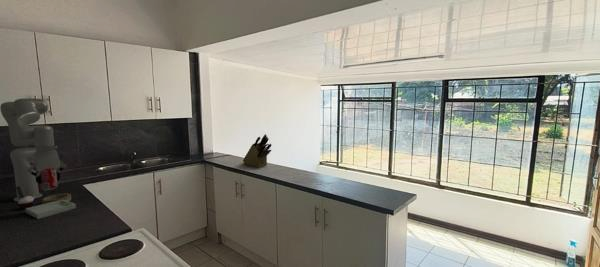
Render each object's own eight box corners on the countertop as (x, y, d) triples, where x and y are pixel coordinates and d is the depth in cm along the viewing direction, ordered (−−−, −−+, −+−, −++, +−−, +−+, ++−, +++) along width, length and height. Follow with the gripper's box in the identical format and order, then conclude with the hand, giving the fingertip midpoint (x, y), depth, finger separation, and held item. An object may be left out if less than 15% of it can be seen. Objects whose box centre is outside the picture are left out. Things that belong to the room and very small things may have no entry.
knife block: (263, 169, 241) (262, 135, 238) (242, 163, 267) (241, 132, 264) (273, 167, 249) (272, 134, 246) (252, 161, 275) (251, 132, 271)
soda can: (56, 186, 150) (54, 165, 149) (59, 188, 146) (57, 167, 144) (39, 189, 145) (37, 167, 143) (41, 192, 140) (39, 169, 139)
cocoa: (35, 208, 151) (35, 187, 150) (20, 211, 146) (19, 190, 145) (31, 204, 156) (30, 184, 155) (15, 207, 151) (15, 186, 150)
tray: (26, 212, 143) (25, 208, 143) (63, 203, 157) (63, 199, 157) (37, 218, 136) (37, 214, 135) (76, 208, 150) (75, 204, 149)
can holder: (39, 203, 158) (38, 198, 158) (65, 197, 169) (65, 192, 168) (48, 207, 152) (47, 201, 152) (74, 200, 163) (74, 195, 162)
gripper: (62, 146, 152) (65, 177, 154) (20, 151, 137) (23, 184, 139) (68, 147, 149) (71, 178, 150) (25, 152, 134) (29, 186, 135)
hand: (48, 181), depth 145 cm, fingers closed on soda can, 6 cm apart
